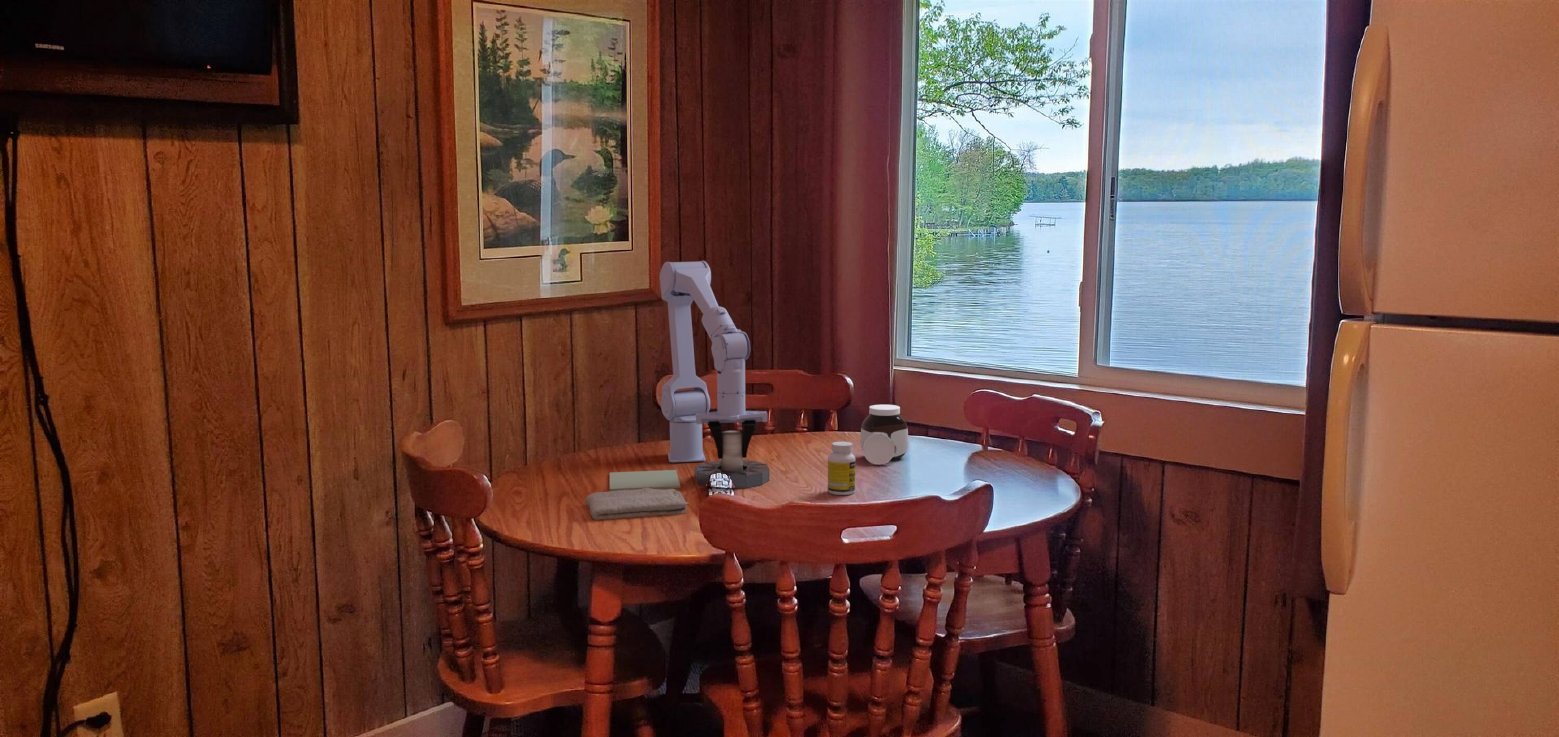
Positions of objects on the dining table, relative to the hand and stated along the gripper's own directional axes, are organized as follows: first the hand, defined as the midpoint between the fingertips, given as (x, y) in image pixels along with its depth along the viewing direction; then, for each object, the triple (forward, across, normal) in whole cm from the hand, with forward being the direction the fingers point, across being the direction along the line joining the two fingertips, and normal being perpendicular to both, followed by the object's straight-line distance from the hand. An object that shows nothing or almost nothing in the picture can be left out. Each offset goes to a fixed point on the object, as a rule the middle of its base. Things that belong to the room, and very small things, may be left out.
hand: (732, 457), depth 223 cm
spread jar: (+5, +35, +12) cm, 37 cm away
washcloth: (+5, -20, -19) cm, 28 cm away
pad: (+5, -18, +2) cm, 19 cm away
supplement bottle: (+5, +20, -14) cm, 25 cm away
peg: (+4, 0, 0) cm, 4 cm away
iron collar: (+5, 0, 0) cm, 5 cm away
